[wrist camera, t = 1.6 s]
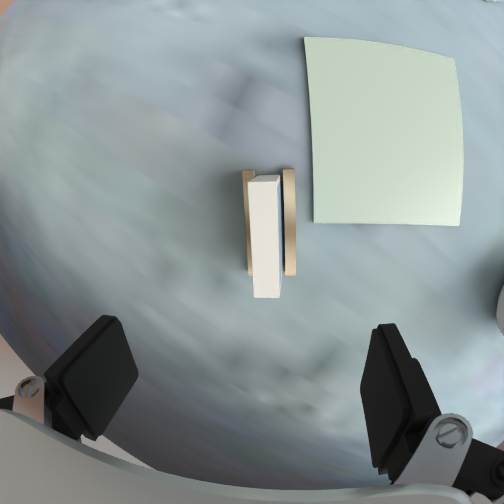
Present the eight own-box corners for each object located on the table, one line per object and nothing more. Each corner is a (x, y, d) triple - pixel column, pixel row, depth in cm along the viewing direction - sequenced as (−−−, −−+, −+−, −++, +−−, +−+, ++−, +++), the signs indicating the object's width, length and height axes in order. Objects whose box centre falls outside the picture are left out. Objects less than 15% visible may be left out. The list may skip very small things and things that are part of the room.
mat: (303, 38, 20) (303, 37, 20) (452, 59, 18) (453, 58, 17) (313, 222, 26) (313, 223, 26) (457, 224, 24) (459, 225, 23)
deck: (258, 175, 26) (247, 182, 19) (280, 174, 25) (276, 181, 19) (262, 266, 29) (254, 297, 22) (282, 266, 28) (279, 297, 22)
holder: (244, 170, 25) (242, 171, 25) (294, 169, 25) (294, 169, 24) (250, 271, 29) (248, 275, 28) (295, 271, 28) (295, 275, 27)
